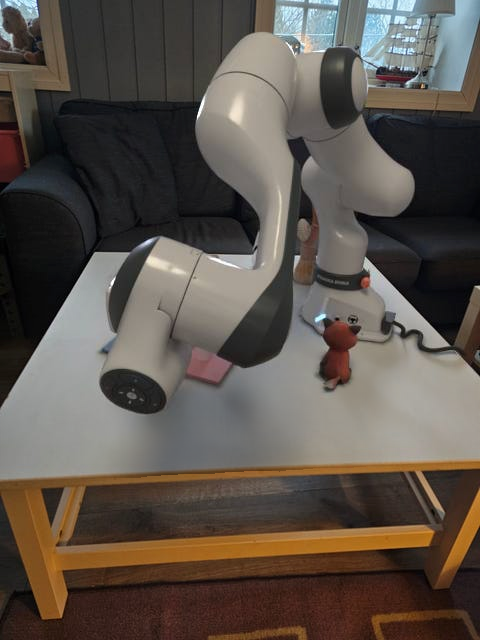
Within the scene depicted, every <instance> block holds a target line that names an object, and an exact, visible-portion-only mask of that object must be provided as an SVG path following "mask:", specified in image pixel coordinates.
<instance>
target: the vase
mask: <svg viewBox="0 0 480 640" xmlns="http://www.w3.org/2000/svg"><path fill="white" fill-rule="evenodd" d="M311 205H312V206H311V207H312V223H311V225H310V224H309V222H308V221H307V220H306V219H305V218H301V219H300V220H298V230H297V238H298V239H299V240H300V241H301V243H300V255H299V259H298V262H297V263H296V265H295V267H294V271H293V281H296V282H297V283H298V284H304V285H311V277H312V270H313V266H314V263H315V261H316V259H317V252H318V244H319V224H318V219H317V215H316V211H315V209H314V206H313V204H312V203H311Z"/></svg>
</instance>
